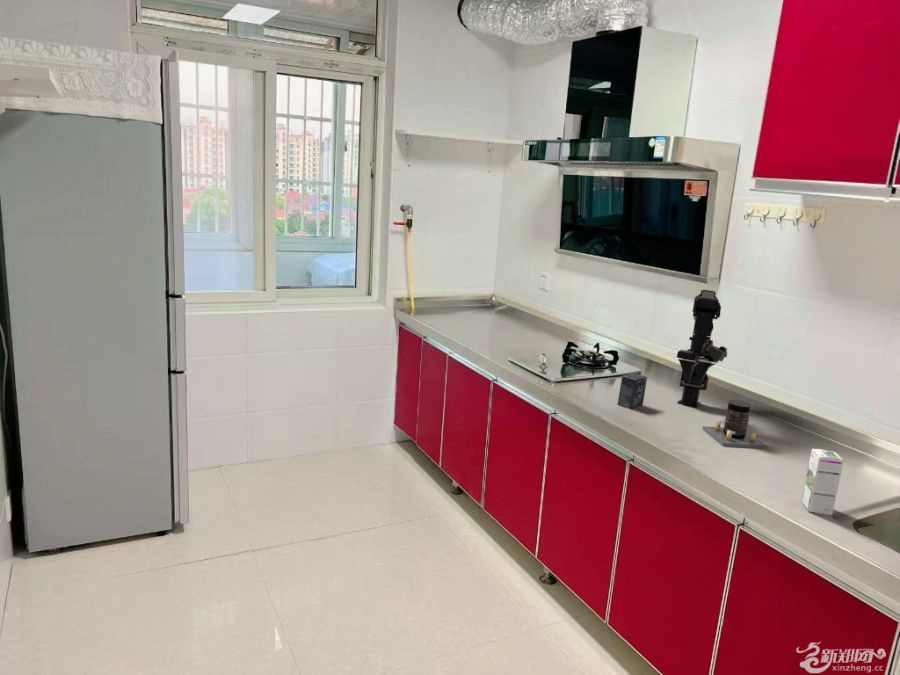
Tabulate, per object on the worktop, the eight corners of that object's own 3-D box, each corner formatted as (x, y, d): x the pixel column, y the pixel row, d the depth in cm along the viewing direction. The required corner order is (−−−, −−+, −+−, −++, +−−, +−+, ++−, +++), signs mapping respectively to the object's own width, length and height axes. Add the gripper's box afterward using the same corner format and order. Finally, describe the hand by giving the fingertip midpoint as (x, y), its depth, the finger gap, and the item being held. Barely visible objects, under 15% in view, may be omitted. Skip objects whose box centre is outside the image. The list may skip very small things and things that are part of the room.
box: (631, 409, 234) (636, 379, 232) (617, 404, 238) (621, 375, 236) (643, 405, 240) (647, 376, 237) (628, 401, 244) (633, 372, 241)
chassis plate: (702, 429, 221) (704, 418, 220) (744, 431, 222) (746, 421, 221) (722, 446, 207) (724, 435, 206) (767, 448, 208) (769, 437, 208)
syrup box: (832, 516, 166) (846, 459, 163) (806, 512, 167) (819, 456, 164) (824, 505, 172) (837, 451, 169) (799, 501, 173) (811, 447, 169)
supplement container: (748, 435, 215) (754, 403, 213) (742, 441, 210) (748, 408, 208) (726, 429, 219) (731, 398, 217) (719, 434, 214) (725, 402, 211)
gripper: (713, 337, 215) (705, 386, 216) (737, 340, 229) (729, 387, 230) (680, 332, 223) (671, 379, 224) (704, 336, 236) (697, 380, 237)
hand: (693, 382), depth 228 cm, fingers open, 9 cm apart
